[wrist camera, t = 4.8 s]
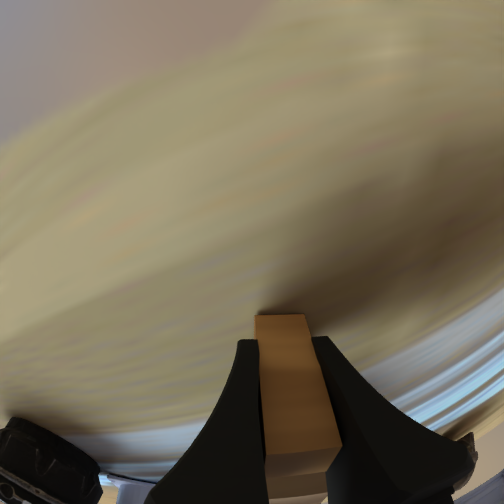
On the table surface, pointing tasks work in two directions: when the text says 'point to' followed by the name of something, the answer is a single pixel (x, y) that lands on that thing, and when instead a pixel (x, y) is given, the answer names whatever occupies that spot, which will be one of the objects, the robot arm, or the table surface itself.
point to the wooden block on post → (293, 412)
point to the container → (44, 468)
